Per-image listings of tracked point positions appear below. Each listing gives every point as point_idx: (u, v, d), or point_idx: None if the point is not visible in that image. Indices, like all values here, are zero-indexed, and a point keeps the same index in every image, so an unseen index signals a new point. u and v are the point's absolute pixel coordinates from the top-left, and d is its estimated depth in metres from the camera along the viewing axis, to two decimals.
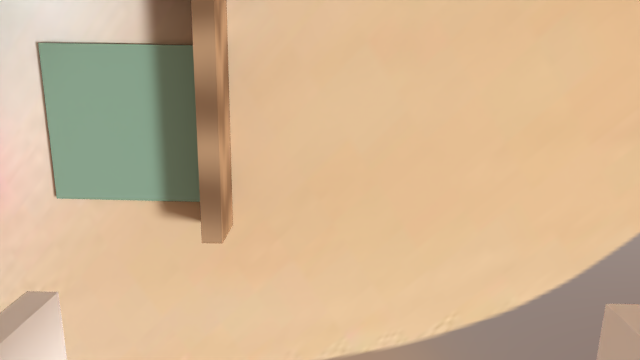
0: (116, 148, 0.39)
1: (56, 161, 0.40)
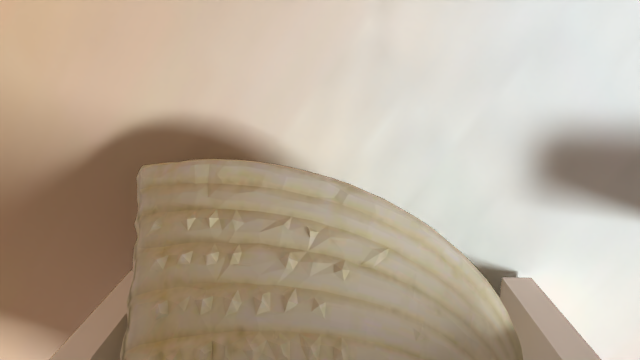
0: None
1: None
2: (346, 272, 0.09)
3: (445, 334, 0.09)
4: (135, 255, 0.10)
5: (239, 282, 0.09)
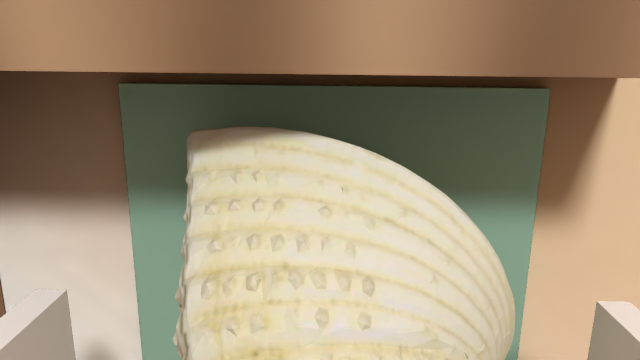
0: None
1: None
2: (373, 224, 0.11)
3: (453, 281, 0.11)
4: (189, 203, 0.12)
5: (283, 226, 0.11)
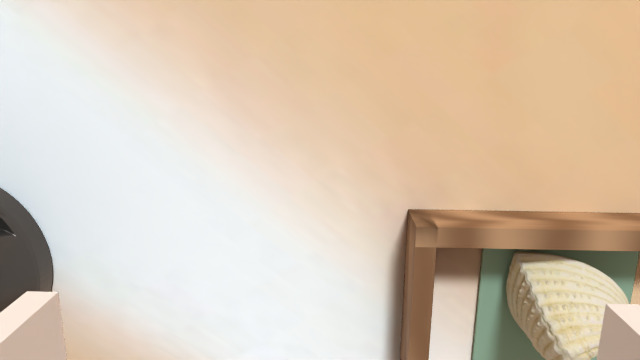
0: None
1: None
2: (593, 289, 0.36)
3: None
4: (527, 280, 0.37)
5: (566, 290, 0.36)
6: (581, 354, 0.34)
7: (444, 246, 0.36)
